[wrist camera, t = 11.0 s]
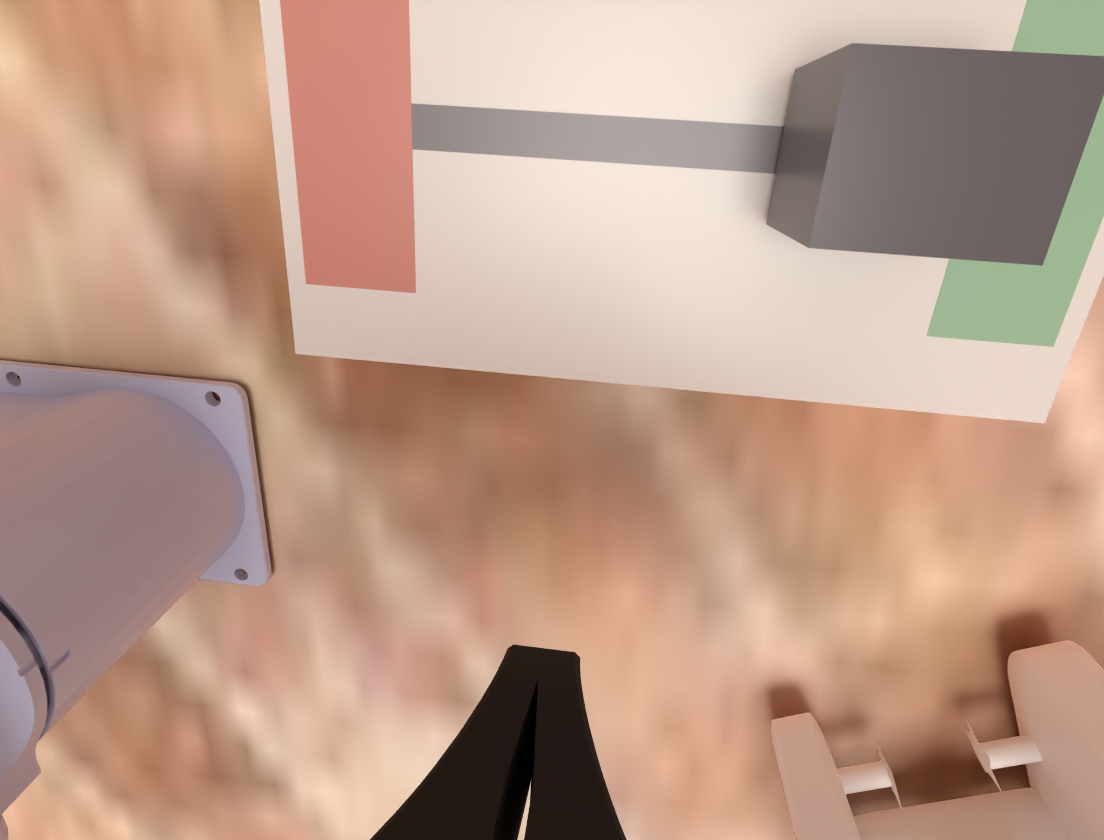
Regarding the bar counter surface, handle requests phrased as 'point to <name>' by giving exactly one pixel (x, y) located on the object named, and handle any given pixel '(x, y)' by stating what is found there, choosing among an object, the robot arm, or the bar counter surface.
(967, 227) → the knob
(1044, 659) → the cable organizer
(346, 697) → the bar counter surface
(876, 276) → the switch plate
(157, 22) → the bar counter surface
